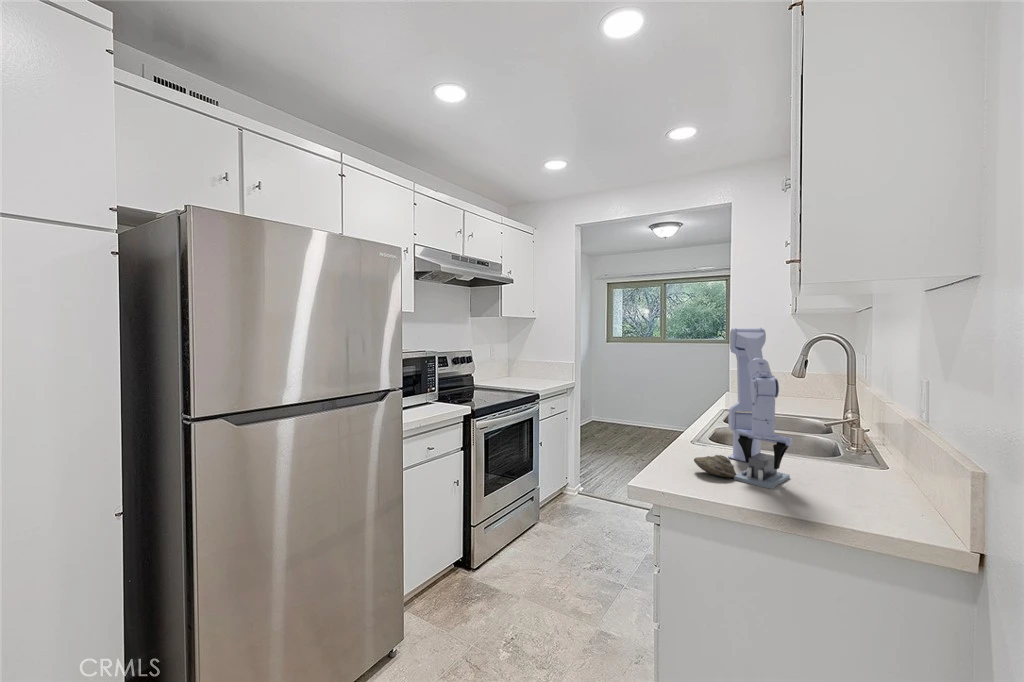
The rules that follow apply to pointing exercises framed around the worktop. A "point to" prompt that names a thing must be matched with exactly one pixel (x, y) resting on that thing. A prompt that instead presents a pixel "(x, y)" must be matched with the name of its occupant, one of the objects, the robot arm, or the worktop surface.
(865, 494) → the worktop surface
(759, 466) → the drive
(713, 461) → the fossilized seashell
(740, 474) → the grey pegged plate
